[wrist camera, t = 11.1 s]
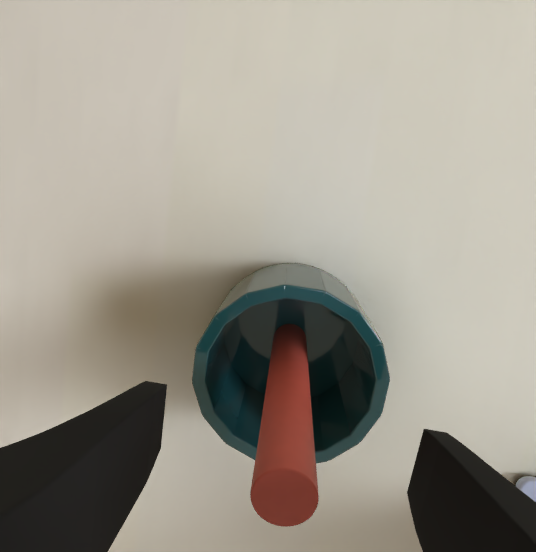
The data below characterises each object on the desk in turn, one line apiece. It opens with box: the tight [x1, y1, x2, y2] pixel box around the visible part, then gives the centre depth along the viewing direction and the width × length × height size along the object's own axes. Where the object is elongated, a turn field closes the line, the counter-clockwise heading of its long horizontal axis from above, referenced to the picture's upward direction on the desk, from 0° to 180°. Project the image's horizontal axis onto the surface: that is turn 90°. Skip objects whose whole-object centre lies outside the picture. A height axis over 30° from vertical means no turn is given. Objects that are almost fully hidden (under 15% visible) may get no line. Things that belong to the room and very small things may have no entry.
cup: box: [192, 263, 390, 463], centre depth 16 cm, size 7×7×4 cm
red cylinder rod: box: [250, 324, 318, 526], centre depth 13 cm, size 2×2×10 cm
